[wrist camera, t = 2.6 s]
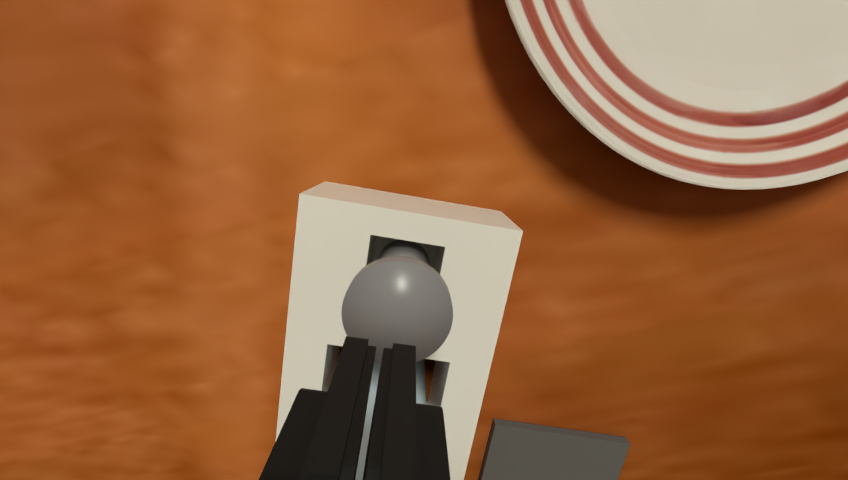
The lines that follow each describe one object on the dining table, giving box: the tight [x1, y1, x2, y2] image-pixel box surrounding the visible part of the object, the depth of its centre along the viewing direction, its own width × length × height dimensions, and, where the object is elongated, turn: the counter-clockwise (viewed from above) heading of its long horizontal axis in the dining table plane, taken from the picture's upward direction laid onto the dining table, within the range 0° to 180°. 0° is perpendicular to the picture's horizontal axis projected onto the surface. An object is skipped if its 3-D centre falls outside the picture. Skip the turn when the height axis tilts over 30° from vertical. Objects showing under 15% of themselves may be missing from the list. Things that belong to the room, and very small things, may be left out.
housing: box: [276, 181, 523, 480], centre depth 23 cm, size 20×10×5 cm, turn 170°
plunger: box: [341, 239, 453, 363], centre depth 17 cm, size 4×4×6 cm
